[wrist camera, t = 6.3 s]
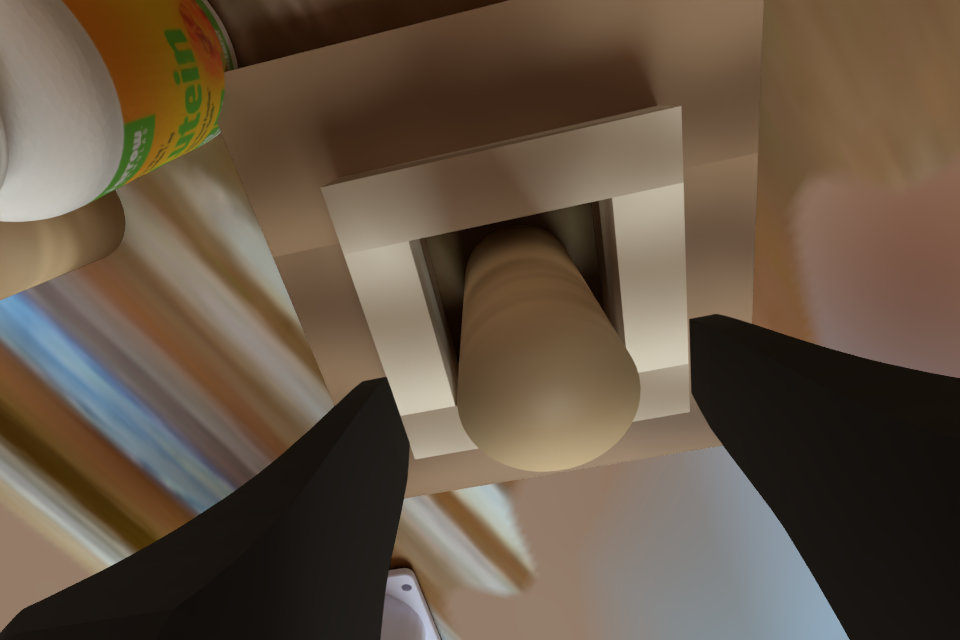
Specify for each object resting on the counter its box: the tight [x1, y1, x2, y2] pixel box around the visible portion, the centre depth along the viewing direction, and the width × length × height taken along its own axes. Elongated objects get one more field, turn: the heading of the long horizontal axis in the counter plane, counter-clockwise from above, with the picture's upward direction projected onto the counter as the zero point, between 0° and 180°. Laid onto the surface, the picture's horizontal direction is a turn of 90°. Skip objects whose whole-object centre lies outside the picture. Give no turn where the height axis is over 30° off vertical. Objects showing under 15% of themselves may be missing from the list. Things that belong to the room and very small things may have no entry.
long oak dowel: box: [457, 225, 641, 472], centre depth 14 cm, size 4×4×8 cm
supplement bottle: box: [0, 0, 238, 222], centre depth 10 cm, size 5×5×10 cm
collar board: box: [217, 0, 764, 498], centre depth 16 cm, size 17×16×3 cm
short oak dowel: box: [0, 190, 125, 300], centre depth 14 cm, size 4×4×4 cm
